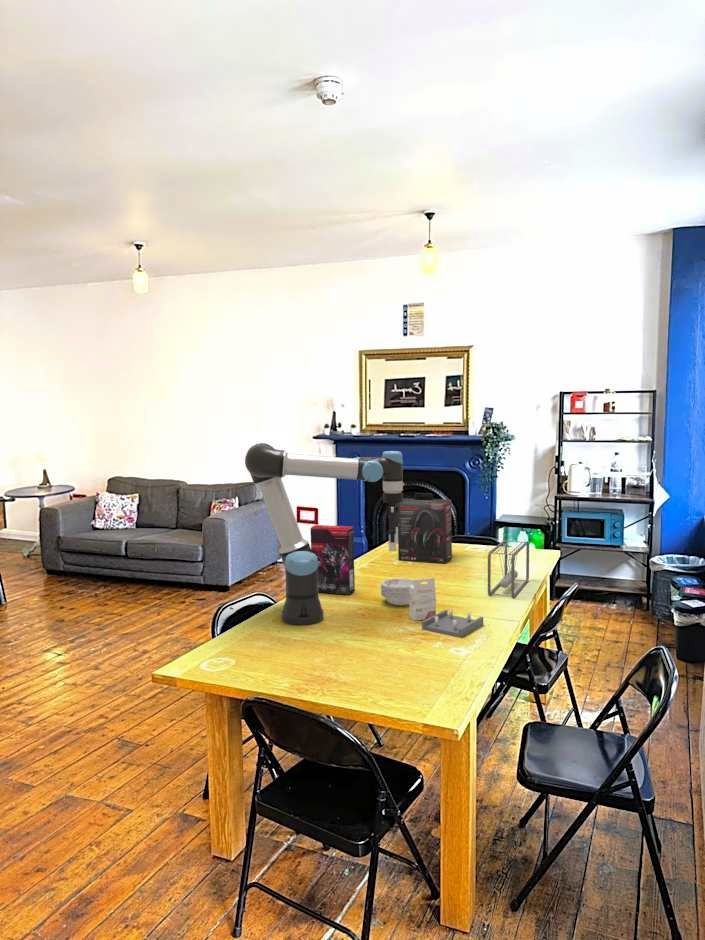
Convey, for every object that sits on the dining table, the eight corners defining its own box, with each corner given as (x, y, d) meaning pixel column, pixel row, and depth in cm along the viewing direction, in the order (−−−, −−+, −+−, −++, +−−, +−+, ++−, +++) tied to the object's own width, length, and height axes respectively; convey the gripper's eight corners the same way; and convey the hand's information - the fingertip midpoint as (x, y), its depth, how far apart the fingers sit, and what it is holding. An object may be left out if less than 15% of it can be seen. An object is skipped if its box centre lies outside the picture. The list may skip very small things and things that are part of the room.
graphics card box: (310, 592, 284) (309, 527, 282) (317, 588, 291) (315, 524, 288) (350, 595, 279) (348, 529, 276) (355, 591, 285) (354, 526, 283)
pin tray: (461, 637, 227) (461, 625, 227) (422, 629, 236) (421, 617, 236) (483, 624, 240) (483, 612, 240) (445, 617, 249) (445, 605, 249)
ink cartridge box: (430, 614, 252) (430, 575, 251) (436, 618, 248) (436, 578, 246) (408, 616, 250) (408, 576, 249) (413, 621, 245) (413, 580, 244)
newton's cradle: (513, 599, 271) (514, 554, 269) (487, 596, 275) (487, 552, 273) (529, 581, 298) (529, 540, 296) (504, 578, 302) (505, 538, 300)
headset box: (396, 560, 340) (396, 493, 336) (404, 555, 351) (404, 490, 348) (446, 564, 330) (445, 495, 327) (452, 558, 342) (452, 492, 339)
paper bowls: (392, 595, 279) (392, 575, 278) (426, 600, 271) (426, 580, 270) (374, 604, 266) (373, 584, 265) (409, 610, 258) (409, 589, 257)
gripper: (401, 496, 250) (402, 554, 252) (404, 487, 275) (404, 540, 277) (380, 496, 251) (381, 554, 253) (385, 487, 276) (385, 540, 278)
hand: (393, 547), depth 265 cm, fingers open, 13 cm apart
